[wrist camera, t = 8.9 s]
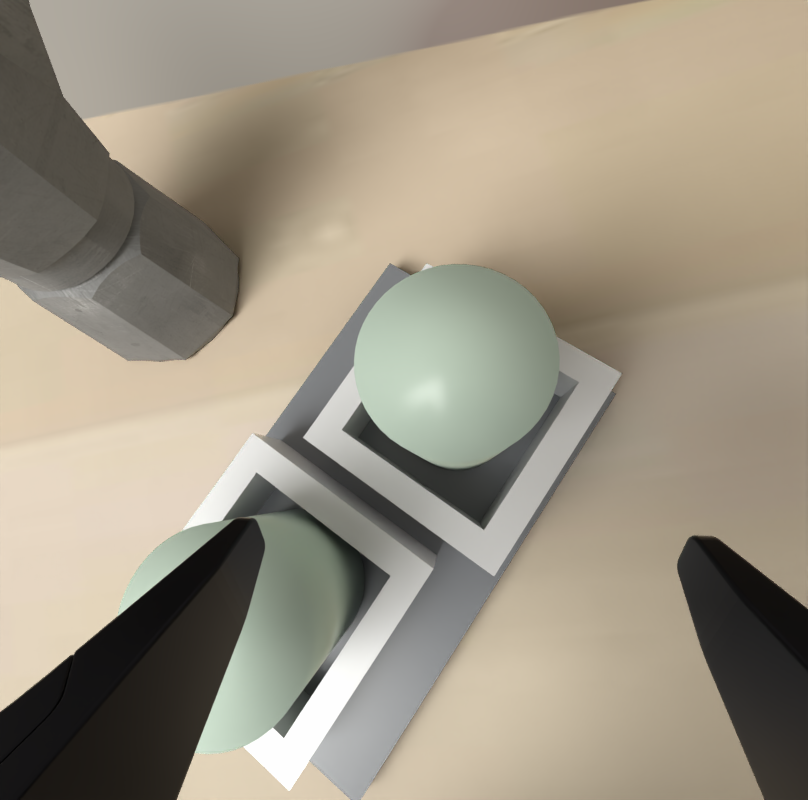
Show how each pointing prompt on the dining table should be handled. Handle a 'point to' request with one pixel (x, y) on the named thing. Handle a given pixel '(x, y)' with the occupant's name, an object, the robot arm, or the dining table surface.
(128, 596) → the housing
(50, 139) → the coffeepot
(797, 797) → the robot arm
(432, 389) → the pale green rounded block
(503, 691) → the dining table surface
